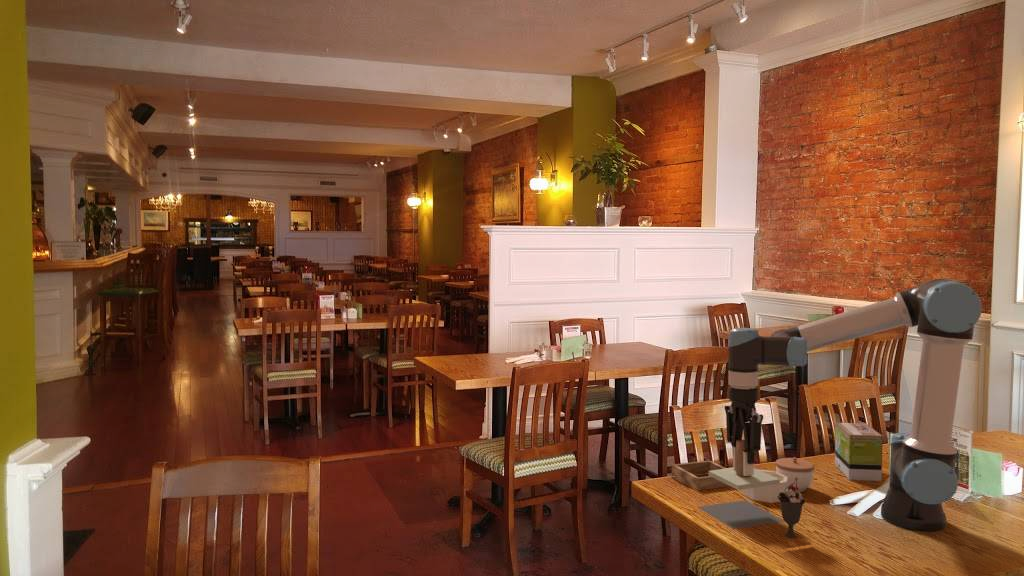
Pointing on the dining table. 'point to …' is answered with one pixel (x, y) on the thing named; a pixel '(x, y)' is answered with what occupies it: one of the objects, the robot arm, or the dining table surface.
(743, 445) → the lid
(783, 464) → the lidded jar
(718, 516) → the mat
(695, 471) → the tray
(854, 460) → the tea box
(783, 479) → the bowl
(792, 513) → the sundae
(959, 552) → the dining table surface
